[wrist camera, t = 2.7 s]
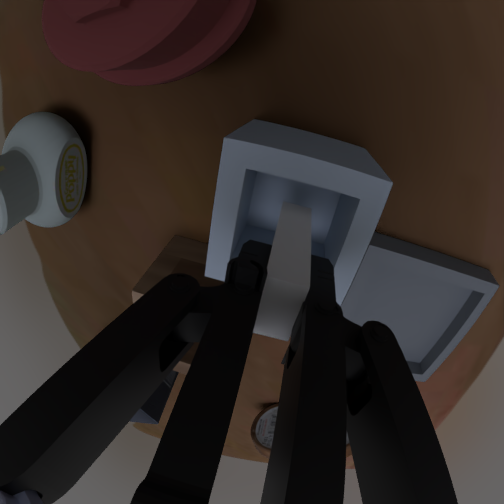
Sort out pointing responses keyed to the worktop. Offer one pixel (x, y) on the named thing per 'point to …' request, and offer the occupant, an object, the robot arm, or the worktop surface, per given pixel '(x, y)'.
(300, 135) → the block
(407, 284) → the tray
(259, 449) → the tin
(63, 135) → the air freshener
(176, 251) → the brown open cube box
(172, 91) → the worktop surface
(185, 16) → the mechanical component
